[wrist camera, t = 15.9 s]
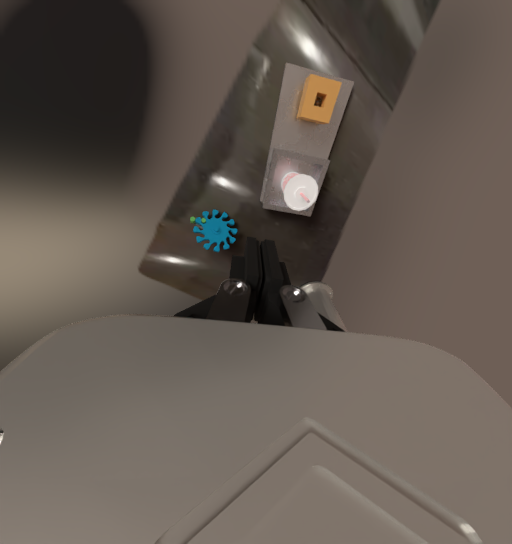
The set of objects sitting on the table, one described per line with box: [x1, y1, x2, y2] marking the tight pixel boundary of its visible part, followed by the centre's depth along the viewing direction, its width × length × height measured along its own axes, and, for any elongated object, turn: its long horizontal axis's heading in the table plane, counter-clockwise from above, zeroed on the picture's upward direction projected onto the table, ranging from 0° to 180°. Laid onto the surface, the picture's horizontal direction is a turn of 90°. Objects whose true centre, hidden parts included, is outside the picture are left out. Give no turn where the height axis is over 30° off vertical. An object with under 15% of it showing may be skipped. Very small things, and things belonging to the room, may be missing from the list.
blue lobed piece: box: [190, 209, 237, 252], centre depth 46 cm, size 11×6×10 cm
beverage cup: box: [281, 172, 318, 211], centre depth 35 cm, size 6×6×14 cm
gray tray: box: [260, 63, 354, 216], centre depth 37 cm, size 22×12×4 cm, turn 170°
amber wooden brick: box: [297, 74, 342, 124], centre depth 31 cm, size 5×5×3 cm
